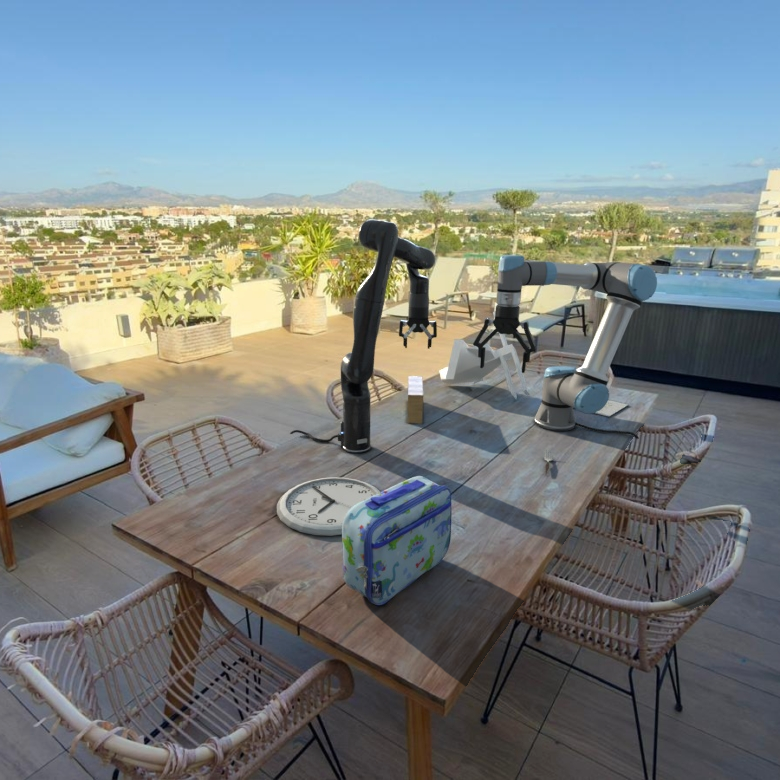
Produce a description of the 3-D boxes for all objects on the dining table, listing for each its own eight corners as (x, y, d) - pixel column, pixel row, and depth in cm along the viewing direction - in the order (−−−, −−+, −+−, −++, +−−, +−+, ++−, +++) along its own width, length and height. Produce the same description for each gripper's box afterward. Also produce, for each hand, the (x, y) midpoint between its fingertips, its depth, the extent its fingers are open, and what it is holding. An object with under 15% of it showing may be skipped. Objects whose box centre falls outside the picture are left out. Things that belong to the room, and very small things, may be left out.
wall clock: (392, 527, 129) (268, 531, 127) (391, 533, 130) (269, 537, 127) (383, 473, 158) (282, 475, 155) (383, 478, 158) (282, 480, 156)
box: (407, 401, 229) (408, 375, 226) (421, 401, 229) (422, 376, 226) (407, 422, 204) (408, 394, 200) (422, 423, 204) (423, 395, 200)
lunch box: (371, 618, 102) (371, 524, 95) (336, 591, 109) (334, 502, 103) (455, 562, 119) (460, 479, 113) (420, 542, 126) (423, 463, 120)
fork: (541, 474, 162) (542, 468, 162) (545, 454, 177) (545, 449, 176) (550, 476, 162) (550, 470, 161) (553, 456, 176) (553, 450, 175)
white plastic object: (461, 429, 252) (437, 405, 227) (444, 352, 274) (420, 323, 250) (535, 404, 240) (518, 377, 215) (510, 326, 262) (492, 293, 237)
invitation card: (608, 416, 214) (573, 407, 224) (608, 416, 214) (573, 408, 224) (628, 404, 229) (594, 396, 238) (628, 405, 229) (594, 397, 238)
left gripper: (399, 306, 190) (398, 349, 195) (438, 307, 190) (436, 350, 195) (399, 303, 197) (398, 345, 202) (437, 304, 197) (435, 346, 202)
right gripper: (466, 303, 168) (462, 367, 174) (547, 309, 159) (539, 376, 165) (472, 301, 174) (468, 362, 181) (549, 306, 166) (542, 370, 172)
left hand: (417, 347), depth 198 cm, fingers open, 8 cm apart
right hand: (502, 369), depth 173 cm, fingers open, 13 cm apart
